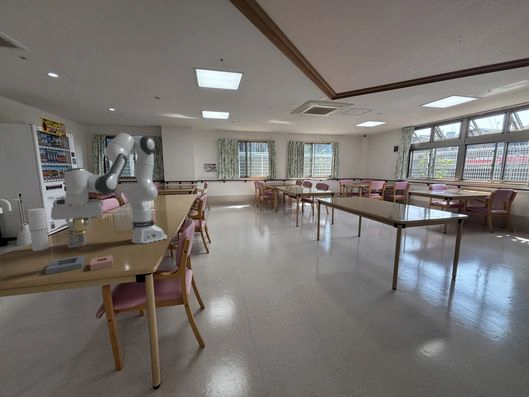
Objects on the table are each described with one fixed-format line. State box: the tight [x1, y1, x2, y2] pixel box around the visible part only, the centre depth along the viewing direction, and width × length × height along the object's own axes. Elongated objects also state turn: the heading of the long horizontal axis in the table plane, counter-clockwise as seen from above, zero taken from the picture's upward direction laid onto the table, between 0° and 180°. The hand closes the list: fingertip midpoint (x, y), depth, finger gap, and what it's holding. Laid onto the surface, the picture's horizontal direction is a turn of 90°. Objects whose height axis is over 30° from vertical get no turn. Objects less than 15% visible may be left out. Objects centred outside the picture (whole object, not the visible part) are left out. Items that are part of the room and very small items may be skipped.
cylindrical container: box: [27, 207, 50, 252], centre depth 135 cm, size 7×7×25 cm
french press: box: [63, 223, 87, 248], centre depth 142 cm, size 10×12×25 cm
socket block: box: [44, 254, 85, 275], centre depth 112 cm, size 13×13×2 cm
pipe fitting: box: [72, 218, 88, 235], centre depth 113 cm, size 6×6×8 cm
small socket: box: [89, 254, 114, 271], centre depth 113 cm, size 9×9×3 cm
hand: (79, 226), depth 113 cm, fingers closed on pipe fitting, 5 cm apart
